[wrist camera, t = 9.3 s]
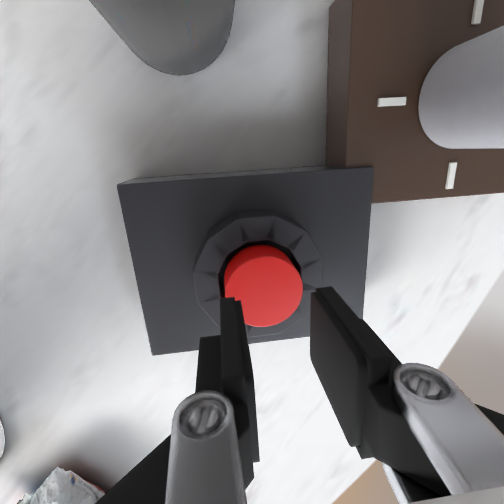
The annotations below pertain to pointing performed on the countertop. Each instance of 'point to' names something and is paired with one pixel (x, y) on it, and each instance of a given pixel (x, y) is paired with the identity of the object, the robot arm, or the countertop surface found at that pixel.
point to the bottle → (171, 30)
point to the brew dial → (466, 95)
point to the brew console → (402, 96)
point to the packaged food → (64, 490)
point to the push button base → (243, 243)
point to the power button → (263, 285)
